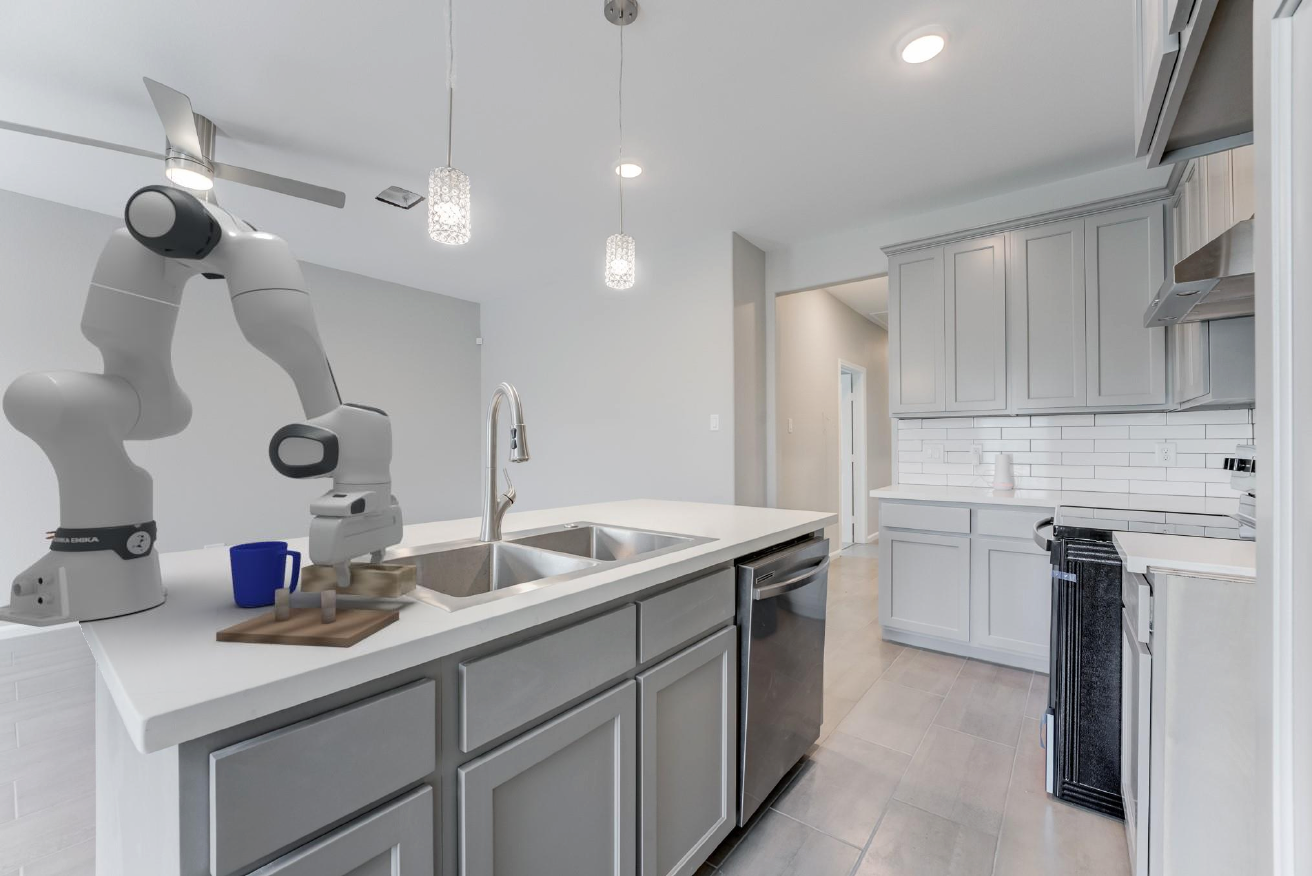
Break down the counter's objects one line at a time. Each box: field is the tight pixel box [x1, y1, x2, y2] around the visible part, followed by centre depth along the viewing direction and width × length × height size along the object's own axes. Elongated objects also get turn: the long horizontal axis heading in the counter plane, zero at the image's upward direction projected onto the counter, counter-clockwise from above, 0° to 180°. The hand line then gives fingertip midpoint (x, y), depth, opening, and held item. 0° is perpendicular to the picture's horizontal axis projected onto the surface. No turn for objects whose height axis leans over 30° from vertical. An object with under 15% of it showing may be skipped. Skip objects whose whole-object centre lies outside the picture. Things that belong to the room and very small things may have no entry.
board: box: [215, 587, 400, 648], centre depth 83 cm, size 20×12×6 cm, turn 83°
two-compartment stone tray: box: [300, 561, 418, 599], centre depth 95 cm, size 17×6×4 cm, turn 84°
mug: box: [228, 540, 302, 608], centre depth 96 cm, size 8×12×10 cm
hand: (360, 580), depth 95 cm, fingers closed on two-compartment stone tray, 6 cm apart
